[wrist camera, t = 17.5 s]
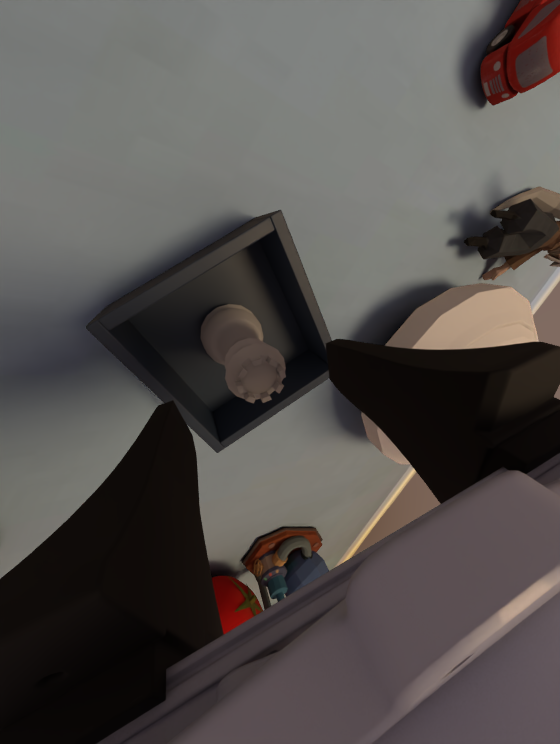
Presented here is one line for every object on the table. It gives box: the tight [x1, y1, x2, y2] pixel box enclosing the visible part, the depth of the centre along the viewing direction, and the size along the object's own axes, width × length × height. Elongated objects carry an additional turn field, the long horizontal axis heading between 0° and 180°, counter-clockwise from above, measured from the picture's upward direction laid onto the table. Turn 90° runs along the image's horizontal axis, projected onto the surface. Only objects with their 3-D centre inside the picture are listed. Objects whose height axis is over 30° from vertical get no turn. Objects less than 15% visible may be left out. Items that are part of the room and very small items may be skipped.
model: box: [242, 528, 329, 610], centre depth 32 cm, size 12×9×9 cm
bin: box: [86, 210, 332, 453], centre depth 17 cm, size 11×11×4 cm
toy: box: [464, 187, 560, 280], centre depth 23 cm, size 10×8×15 cm
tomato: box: [212, 576, 263, 634], centre depth 28 cm, size 13×11×14 cm
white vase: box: [361, 283, 539, 464], centre depth 21 cm, size 20×20×19 cm
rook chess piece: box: [201, 304, 286, 403], centre depth 15 cm, size 4×4×8 cm
